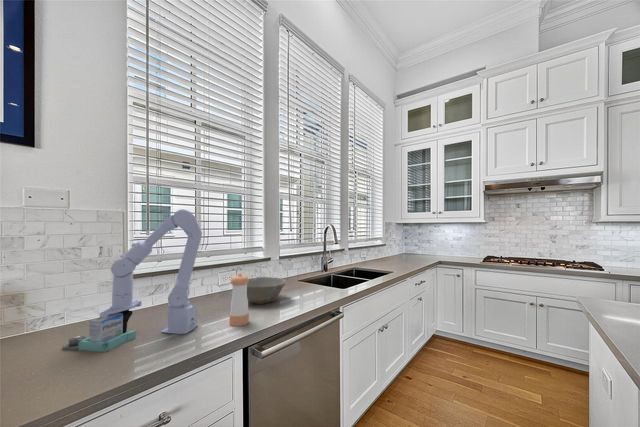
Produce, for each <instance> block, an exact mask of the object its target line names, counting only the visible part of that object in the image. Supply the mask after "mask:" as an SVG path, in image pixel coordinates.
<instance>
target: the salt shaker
mask: <svg viewBox="0 0 640 427" xmlns="http://www.w3.org/2000/svg"><path fill="white" fill-rule="evenodd" d="M249 279H250V278H249V277H248V276H247V275H244V274H243V273H238V274H237V275H234V276H233V277H232V278H231V279H230V283H231V286H232V296H231V302H230V313H229V325H230V326H233V327H241V326H245V325H247V324H248V323H249V322H250V320H249V319H250V314H249V313H250V312H249V302H248V300H249V299H248V298H247V284H248V282H249Z"/></svg>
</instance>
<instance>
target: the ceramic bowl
mask: <svg viewBox="0 0 640 427" xmlns="http://www.w3.org/2000/svg"><path fill="white" fill-rule="evenodd" d="M248 279H249V282H248V284H247V300H249V301H250V302H252V303H254V304H256V305H257V304H258V305H262V304H267V303H268V304H269V303H271V302H272V303H273V302H274V301H275V300H276V299H278V297H279V294H280V293H281V292H282V290H283V287H285V285H286V283H287V280H286V279H285V278H281V277H272V276H267V277H266V276H260V277H251V278H248Z"/></svg>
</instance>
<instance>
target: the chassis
mask: <svg viewBox="0 0 640 427" xmlns="http://www.w3.org/2000/svg"><path fill="white" fill-rule="evenodd" d="M136 332H137V331H136V330H135V329H134V330H130V331H126V333H124V334H122V335H119V336H117V337H115V338H113V339H111V340H109V341H107V342H98V341H89V335H87V336H85V335H84V336H83V335H77V336H74V337H72V338H70V339H68V344H65V345H63V346H62V350H69V351H87V352H98V353H99V352H100V353H101V352H102V353H106V352H108V351H110V350H112V349H114V348H116V347H118V346H120V345H122V344H123V343H125V342H128V341H132V340H134V339H136V336H137V335H136V334H137V333H136Z"/></svg>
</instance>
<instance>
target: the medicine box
mask: <svg viewBox="0 0 640 427" xmlns="http://www.w3.org/2000/svg"><path fill="white" fill-rule="evenodd" d="M88 325H89V328H88V331H89V333H88V334H89V335H88V336H89V341H98V342H107V341H109V340H111V339H113V338H115V337H117V336H119V335H122V334H123V314H122V313H116V314H114V315H111V316H108V318H105V319H104V318H100V317H98V318H94V319H92V320H89V322H88Z"/></svg>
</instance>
